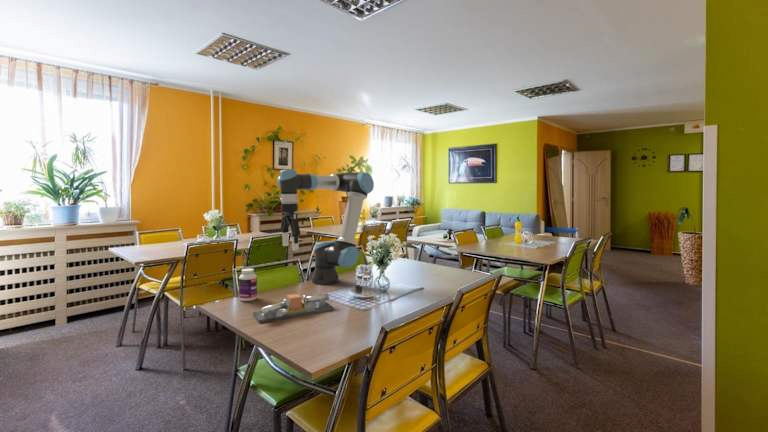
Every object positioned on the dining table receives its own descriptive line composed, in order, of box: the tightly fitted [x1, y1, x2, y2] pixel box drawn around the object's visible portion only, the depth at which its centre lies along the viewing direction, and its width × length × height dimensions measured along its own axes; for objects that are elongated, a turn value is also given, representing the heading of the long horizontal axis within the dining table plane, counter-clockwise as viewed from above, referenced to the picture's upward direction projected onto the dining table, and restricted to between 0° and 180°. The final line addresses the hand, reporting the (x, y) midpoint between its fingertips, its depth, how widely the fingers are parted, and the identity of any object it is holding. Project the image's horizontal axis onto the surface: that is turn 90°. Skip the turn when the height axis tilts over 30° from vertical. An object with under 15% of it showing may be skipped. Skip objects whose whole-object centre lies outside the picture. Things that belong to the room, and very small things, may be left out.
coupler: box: [286, 293, 302, 310], centre depth 158 cm, size 5×5×6 cm
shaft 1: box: [259, 298, 290, 319], centre depth 151 cm, size 11×5×6 cm, turn 142°
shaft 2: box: [301, 293, 330, 307], centre depth 163 cm, size 11×5×6 cm, turn 122°
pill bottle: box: [238, 268, 258, 302], centre depth 176 cm, size 8×8×14 cm
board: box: [252, 301, 335, 324], centre depth 158 cm, size 32×11×4 cm, turn 122°
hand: (290, 248), depth 173 cm, fingers open, 13 cm apart
